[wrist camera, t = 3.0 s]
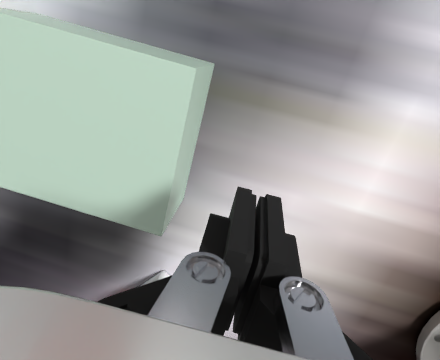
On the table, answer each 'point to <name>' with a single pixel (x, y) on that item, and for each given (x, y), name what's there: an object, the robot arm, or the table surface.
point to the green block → (97, 119)
